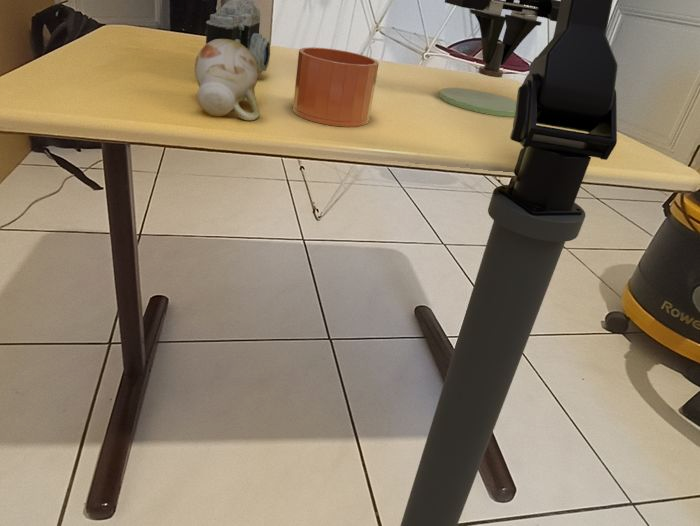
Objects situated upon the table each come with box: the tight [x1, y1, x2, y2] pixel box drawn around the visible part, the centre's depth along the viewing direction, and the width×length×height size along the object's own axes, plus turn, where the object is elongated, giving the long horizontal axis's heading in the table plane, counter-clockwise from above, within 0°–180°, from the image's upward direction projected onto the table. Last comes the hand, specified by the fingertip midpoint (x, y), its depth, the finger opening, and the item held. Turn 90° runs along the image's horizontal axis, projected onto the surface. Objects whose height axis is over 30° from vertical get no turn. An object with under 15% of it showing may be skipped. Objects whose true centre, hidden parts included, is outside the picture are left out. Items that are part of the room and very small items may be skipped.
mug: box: [194, 39, 260, 121], centre depth 63 cm, size 8×10×10 cm
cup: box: [292, 46, 380, 128], centre depth 67 cm, size 9×9×7 cm
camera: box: [205, 0, 271, 74], centre depth 77 cm, size 15×7×10 cm, turn 175°
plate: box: [439, 87, 517, 118], centre depth 90 cm, size 14×14×1 cm
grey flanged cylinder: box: [477, 41, 506, 78], centre depth 87 cm, size 4×4×5 cm
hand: (493, 63), depth 87 cm, fingers closed on grey flanged cylinder, 2 cm apart
